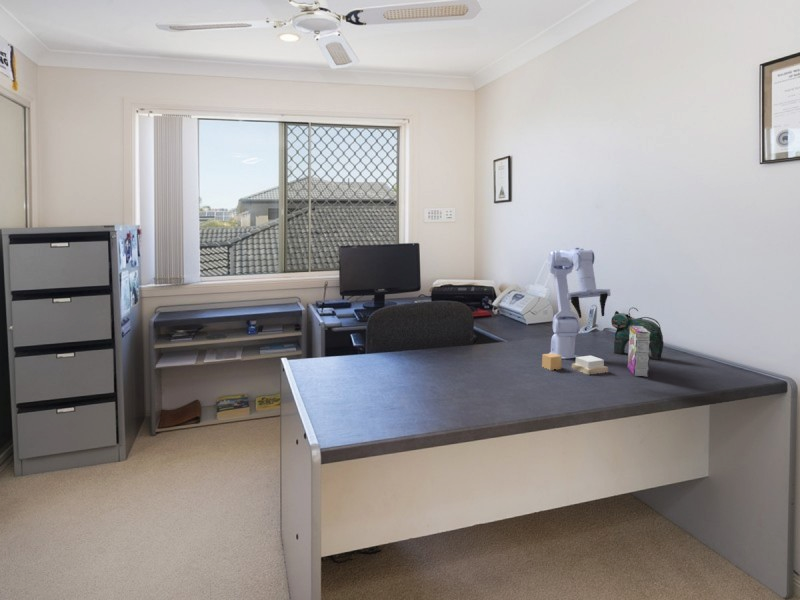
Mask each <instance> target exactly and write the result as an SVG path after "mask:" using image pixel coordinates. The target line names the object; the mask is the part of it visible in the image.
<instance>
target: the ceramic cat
mask: <svg viewBox="0 0 800 600" xmlns="http://www.w3.org/2000/svg"><path fill="white" fill-rule="evenodd" d="M632 309H634V310H636V311H637V312H639V310H638V309H637V307H630V308H629V310H628V314H627V313H624V312H621V313H620V312H619V311H618V310H615V312H614V314H613V316H612V317H611V325H612V327H613V328H615V329H616V330H615V333H614V341H613V354H618V355H623V354H624V353H625V349H626V345H627V343H629V332H630V326H643V327H644V328H646V329H647V330H648V331H649V332H650V333H651V335H650V353H651V359H652V360H656V359H659V360H661V359H660V358H662V355H663V349H664V343H665V342H664V335H663V332H662V329H661V325H660V322H659V321H658V320H656V319H655V318H652V317H647V316H643V317H642V316H641V317H637V318H635V317H633V316H631V314H630V311H631V310H632ZM655 322H656V323H655Z"/></svg>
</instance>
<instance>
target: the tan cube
mask: <svg viewBox="0 0 800 600" xmlns="http://www.w3.org/2000/svg"><path fill="white" fill-rule="evenodd" d="M549 353H550V352H549ZM549 353H542V355H541V356H542V358H541V367H542V368H543V367H544V368H543V369H546V368H547V369H546V370H548V369H549V370H548V371H554V369H556V370H562V356H560V355H557V354H554V353H550V354H549Z"/></svg>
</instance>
